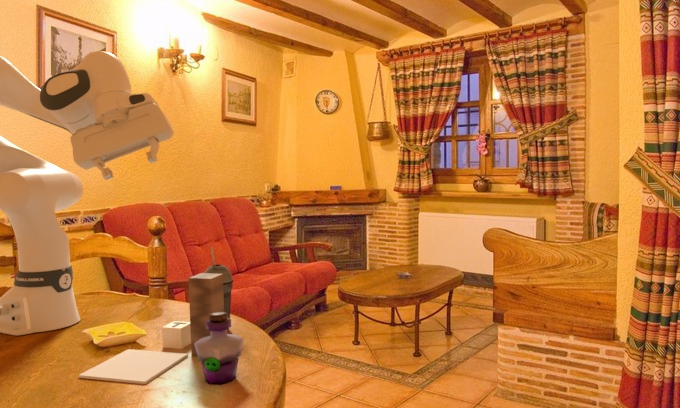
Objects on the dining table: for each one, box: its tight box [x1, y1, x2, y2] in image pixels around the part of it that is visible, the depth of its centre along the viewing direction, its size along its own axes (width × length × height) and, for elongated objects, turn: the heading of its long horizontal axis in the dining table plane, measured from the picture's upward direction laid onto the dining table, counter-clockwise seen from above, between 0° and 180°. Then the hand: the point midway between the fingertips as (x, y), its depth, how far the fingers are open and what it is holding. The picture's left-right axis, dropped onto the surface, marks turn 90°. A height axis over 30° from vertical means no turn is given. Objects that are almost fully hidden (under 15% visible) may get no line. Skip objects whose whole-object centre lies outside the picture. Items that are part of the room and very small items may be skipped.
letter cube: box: [161, 320, 191, 350], centre depth 111 cm, size 4×4×5 cm
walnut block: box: [187, 272, 224, 357], centre depth 106 cm, size 5×5×16 cm
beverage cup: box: [203, 245, 234, 331], centre depth 120 cm, size 7×7×20 cm
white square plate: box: [78, 348, 189, 385], centre depth 99 cm, size 14×14×1 cm
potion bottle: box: [194, 312, 244, 386], centre depth 92 cm, size 9×9×12 cm
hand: (130, 169), depth 104 cm, fingers open, 8 cm apart
